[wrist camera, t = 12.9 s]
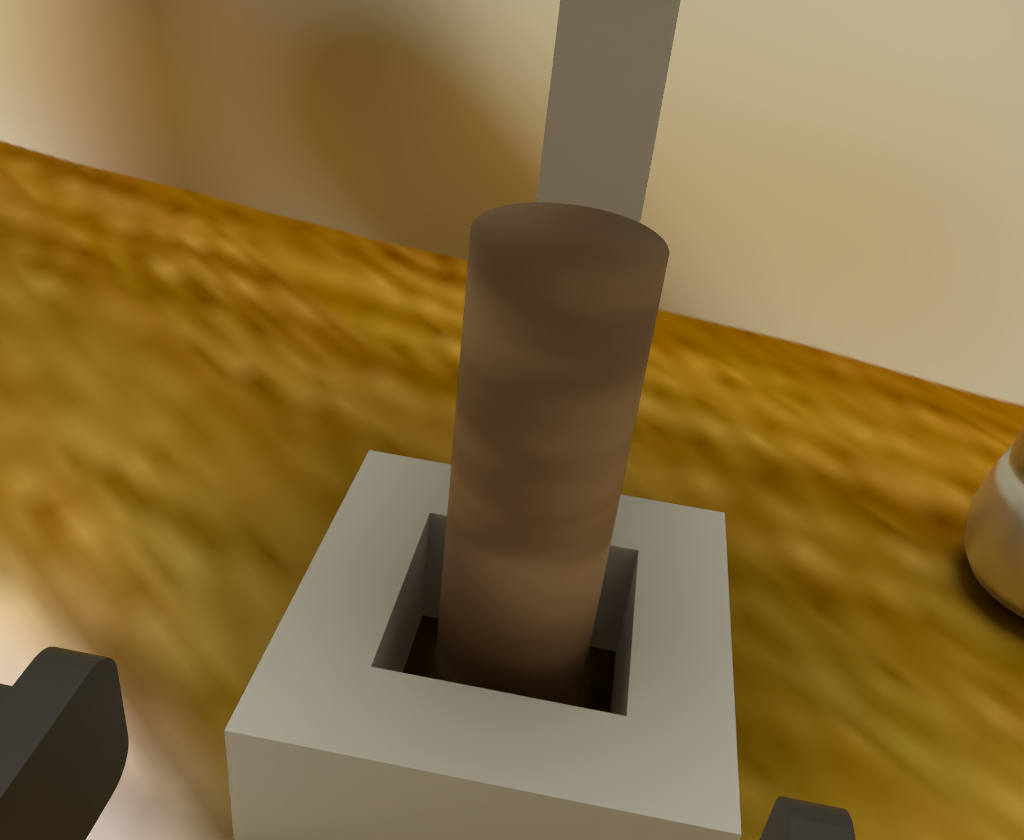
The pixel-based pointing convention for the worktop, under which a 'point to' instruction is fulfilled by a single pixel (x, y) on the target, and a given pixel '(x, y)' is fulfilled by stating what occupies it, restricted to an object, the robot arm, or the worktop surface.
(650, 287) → the peg
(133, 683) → the worktop surface
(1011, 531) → the plastic bottle
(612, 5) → the socket stand
